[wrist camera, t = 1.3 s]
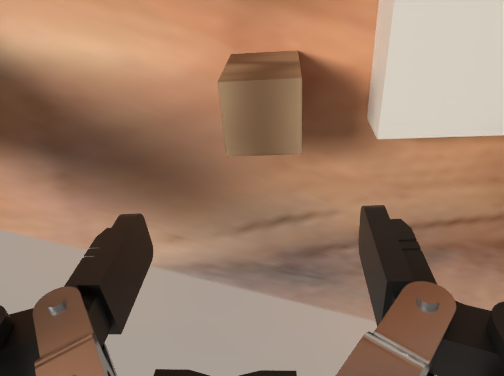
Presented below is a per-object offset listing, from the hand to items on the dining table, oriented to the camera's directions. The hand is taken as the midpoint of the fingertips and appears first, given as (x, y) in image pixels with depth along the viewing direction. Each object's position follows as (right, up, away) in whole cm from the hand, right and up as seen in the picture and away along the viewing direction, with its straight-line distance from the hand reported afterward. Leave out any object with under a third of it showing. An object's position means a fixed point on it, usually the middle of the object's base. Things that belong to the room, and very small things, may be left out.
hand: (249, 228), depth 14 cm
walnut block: (+1, +10, +16) cm, 18 cm away
